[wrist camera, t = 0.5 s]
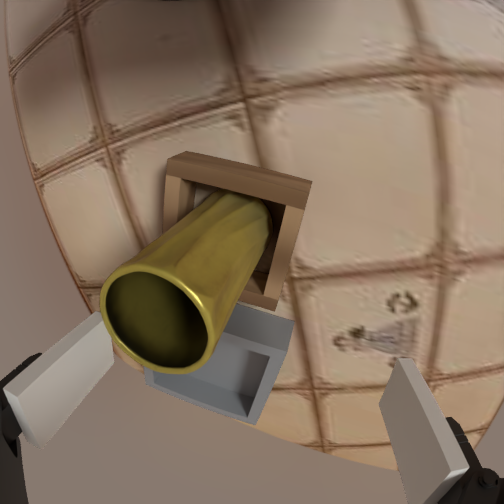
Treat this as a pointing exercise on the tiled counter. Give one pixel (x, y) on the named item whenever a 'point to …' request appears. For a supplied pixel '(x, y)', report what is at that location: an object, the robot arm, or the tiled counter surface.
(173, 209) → the socket
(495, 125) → the tiled counter surface
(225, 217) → the vase
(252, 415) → the tray
